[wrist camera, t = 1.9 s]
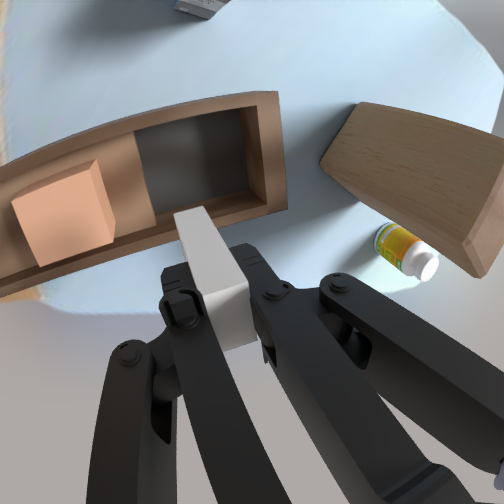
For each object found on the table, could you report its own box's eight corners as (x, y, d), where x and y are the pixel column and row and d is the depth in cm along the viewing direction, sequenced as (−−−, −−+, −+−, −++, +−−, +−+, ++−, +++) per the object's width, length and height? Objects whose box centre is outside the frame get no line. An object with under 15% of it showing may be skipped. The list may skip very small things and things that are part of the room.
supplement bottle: (367, 242, 42) (412, 278, 34) (389, 214, 41) (436, 245, 33) (381, 257, 45) (423, 291, 37) (401, 232, 44) (445, 262, 36)
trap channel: (-101, 236, 14) (-120, 255, 10) (255, 90, 26) (277, 91, 22) (-67, 304, 20) (-79, 328, 16) (266, 192, 32) (287, 209, 28)
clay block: (27, 185, 19) (11, 201, 16) (96, 158, 21) (89, 169, 18) (50, 244, 23) (39, 267, 19) (115, 221, 24) (113, 242, 21)
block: (361, 203, 37) (482, 285, 21) (313, 164, 32) (462, 249, 16) (398, 144, 35) (526, 201, 19) (356, 97, 30) (515, 138, 14)
